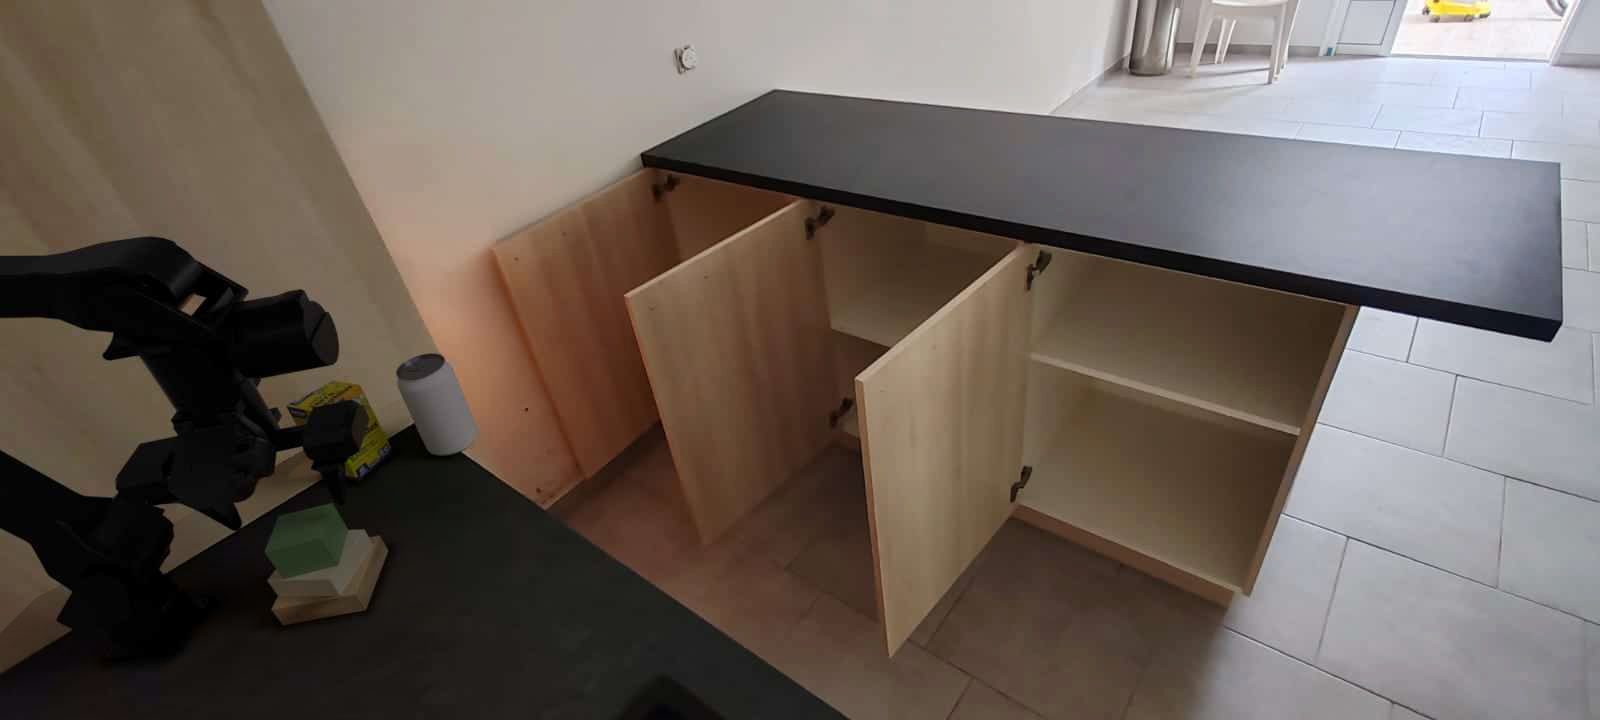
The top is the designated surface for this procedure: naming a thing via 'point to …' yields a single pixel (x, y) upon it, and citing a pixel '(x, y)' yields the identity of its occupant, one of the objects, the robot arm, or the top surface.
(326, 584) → the cream middle block
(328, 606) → the birch base block
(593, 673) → the top surface
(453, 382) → the can
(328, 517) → the green block
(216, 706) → the top surface
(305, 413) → the supplement box
